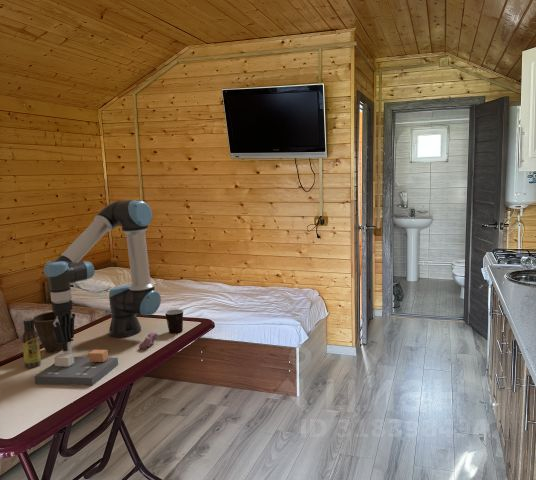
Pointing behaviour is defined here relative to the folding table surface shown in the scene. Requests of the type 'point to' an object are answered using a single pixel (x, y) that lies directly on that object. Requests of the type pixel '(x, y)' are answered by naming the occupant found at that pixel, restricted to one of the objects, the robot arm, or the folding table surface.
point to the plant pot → (47, 332)
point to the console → (76, 372)
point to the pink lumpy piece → (148, 340)
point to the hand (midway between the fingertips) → (68, 357)
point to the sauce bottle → (30, 344)
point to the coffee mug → (175, 321)
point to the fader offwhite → (64, 359)
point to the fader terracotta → (98, 355)
